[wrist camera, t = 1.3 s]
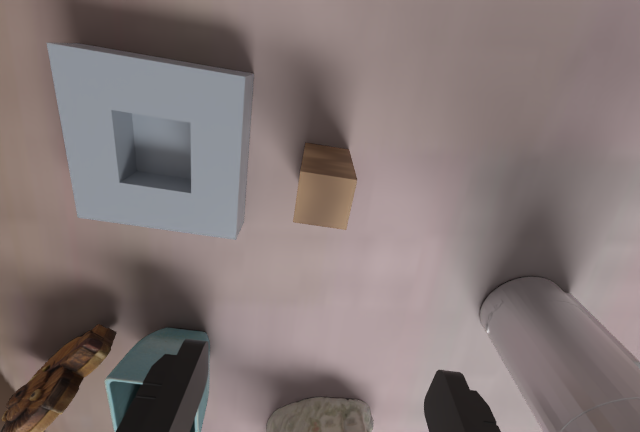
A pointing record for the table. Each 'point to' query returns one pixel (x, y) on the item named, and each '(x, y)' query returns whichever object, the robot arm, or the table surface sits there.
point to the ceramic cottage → (322, 416)
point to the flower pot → (137, 365)
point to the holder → (154, 139)
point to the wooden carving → (57, 382)
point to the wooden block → (325, 187)
